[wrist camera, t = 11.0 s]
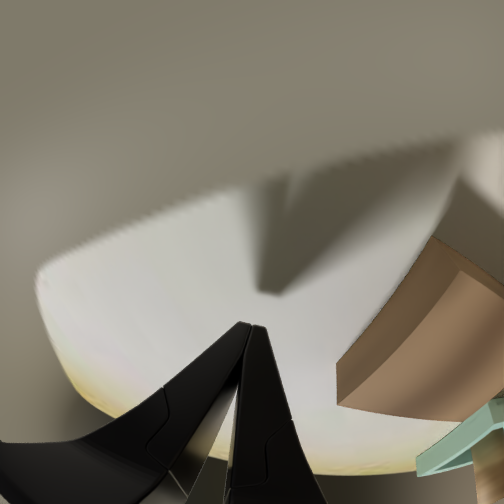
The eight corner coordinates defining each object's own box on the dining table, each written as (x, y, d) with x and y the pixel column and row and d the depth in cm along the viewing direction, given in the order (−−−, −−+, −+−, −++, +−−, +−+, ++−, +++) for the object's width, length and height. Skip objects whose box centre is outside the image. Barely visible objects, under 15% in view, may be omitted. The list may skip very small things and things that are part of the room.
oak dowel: (507, 419, 10) (522, 485, 4) (484, 439, 11) (493, 501, 5) (487, 424, 10) (500, 499, 4) (462, 444, 12) (470, 513, 6)
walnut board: (527, 303, 7) (550, 336, 5) (452, 386, 10) (462, 421, 8) (426, 230, 7) (460, 269, 5) (335, 355, 10) (336, 405, 8)
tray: (541, 388, 9) (548, 405, 7) (480, 444, 13) (483, 459, 11) (486, 400, 10) (494, 424, 8) (415, 457, 14) (417, 477, 12)
